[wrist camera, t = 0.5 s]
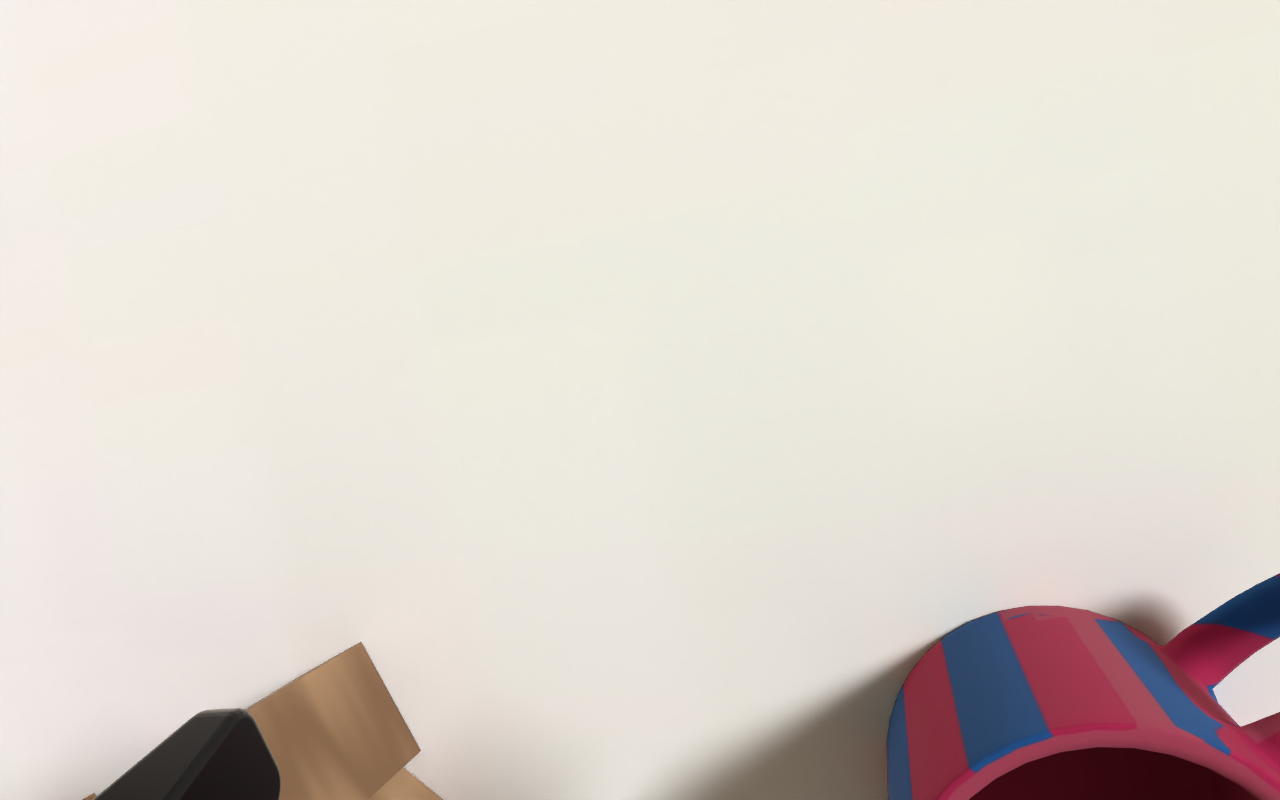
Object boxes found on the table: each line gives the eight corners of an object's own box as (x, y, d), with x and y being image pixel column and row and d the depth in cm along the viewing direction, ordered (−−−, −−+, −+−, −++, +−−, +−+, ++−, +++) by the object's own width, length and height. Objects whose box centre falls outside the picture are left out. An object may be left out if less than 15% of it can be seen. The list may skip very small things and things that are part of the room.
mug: (822, 728, 23) (801, 890, 16) (1200, 437, 21) (1352, 487, 14) (1030, 972, 22) (1096, 1243, 16) (1441, 695, 20) (1716, 872, 14)
